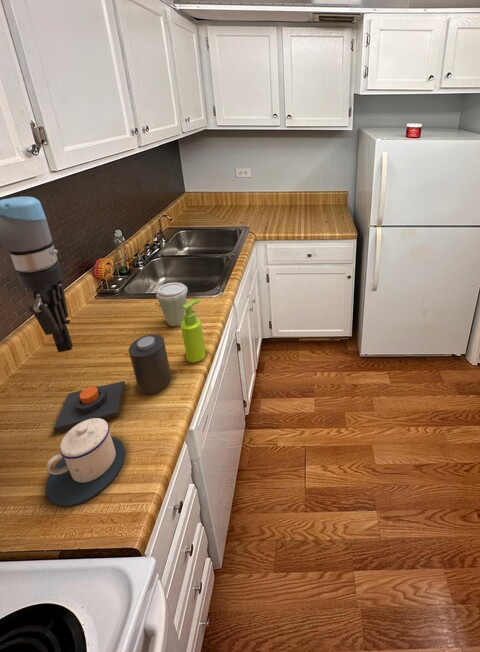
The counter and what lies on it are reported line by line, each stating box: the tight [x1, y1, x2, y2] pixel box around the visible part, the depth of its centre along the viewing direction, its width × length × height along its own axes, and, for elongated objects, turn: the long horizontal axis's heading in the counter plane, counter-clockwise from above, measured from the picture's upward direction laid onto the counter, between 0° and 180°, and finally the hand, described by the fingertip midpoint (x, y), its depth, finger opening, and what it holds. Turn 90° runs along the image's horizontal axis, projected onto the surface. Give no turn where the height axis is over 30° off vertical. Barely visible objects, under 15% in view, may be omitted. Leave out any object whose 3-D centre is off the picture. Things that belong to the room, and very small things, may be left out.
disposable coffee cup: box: [155, 282, 188, 327], centre depth 122 cm, size 11×11×15 cm
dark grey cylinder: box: [128, 334, 173, 396], centre depth 96 cm, size 9×11×15 cm
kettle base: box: [53, 380, 127, 434], centre depth 89 cm, size 14×11×4 cm
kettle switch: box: [80, 386, 99, 404], centre depth 88 cm, size 4×4×2 cm
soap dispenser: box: [180, 298, 206, 363], centre depth 105 cm, size 6×7×20 cm
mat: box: [45, 436, 126, 508], centre depth 75 cm, size 15×15×1 cm
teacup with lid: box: [46, 418, 116, 483], centre depth 73 cm, size 12×9×12 cm
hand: (65, 349), depth 83 cm, fingers closed
